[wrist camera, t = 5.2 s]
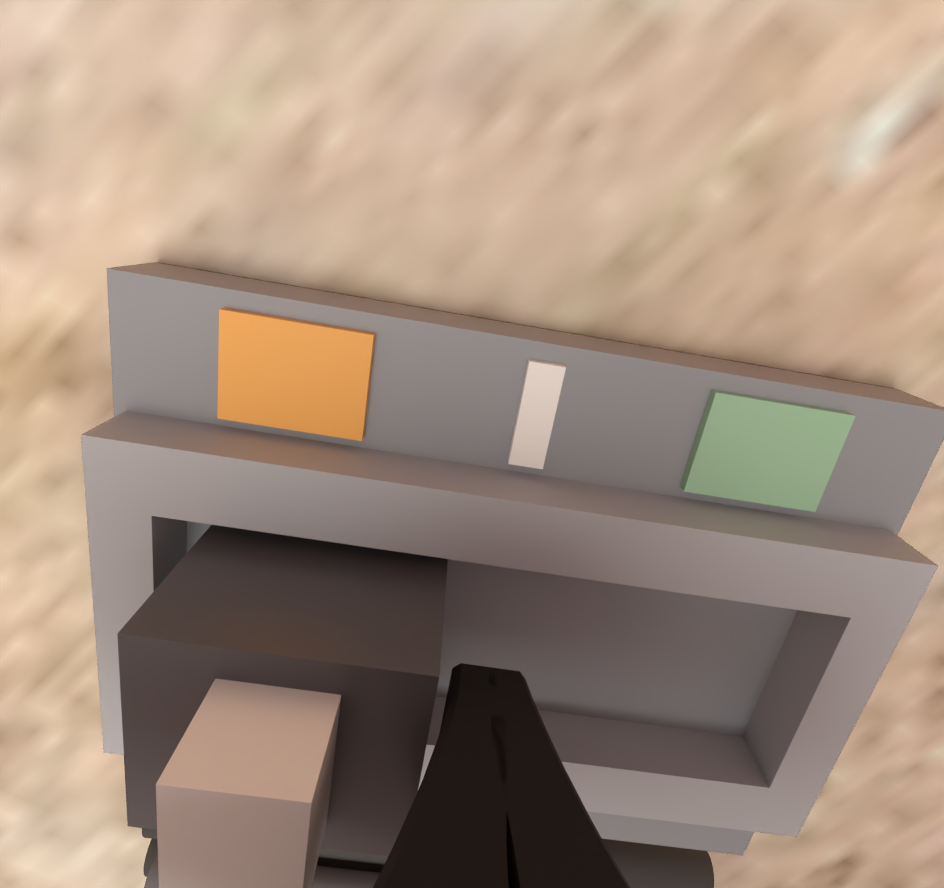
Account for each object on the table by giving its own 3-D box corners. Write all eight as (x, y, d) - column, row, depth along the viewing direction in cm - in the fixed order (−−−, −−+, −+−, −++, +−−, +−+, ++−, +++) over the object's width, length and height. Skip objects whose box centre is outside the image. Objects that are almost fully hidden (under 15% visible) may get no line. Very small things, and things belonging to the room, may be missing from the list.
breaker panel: (895, 388, 11) (1018, 437, 9) (717, 796, 15) (767, 911, 13) (155, 262, 10) (54, 274, 8) (165, 727, 14) (98, 835, 12)
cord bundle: (700, 834, 16) (735, 924, 14) (672, 897, 16) (701, 991, 14) (166, 769, 15) (118, 855, 13) (167, 840, 16) (123, 931, 14)
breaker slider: (449, 540, 11) (432, 783, 6) (423, 686, 12) (392, 980, 7) (226, 507, 10) (30, 733, 6) (222, 660, 12) (58, 947, 7)
